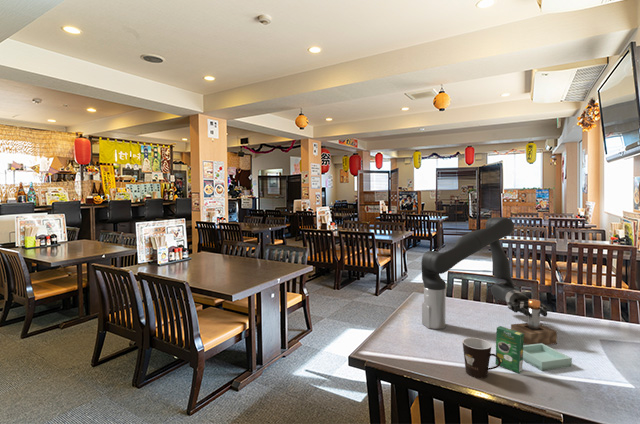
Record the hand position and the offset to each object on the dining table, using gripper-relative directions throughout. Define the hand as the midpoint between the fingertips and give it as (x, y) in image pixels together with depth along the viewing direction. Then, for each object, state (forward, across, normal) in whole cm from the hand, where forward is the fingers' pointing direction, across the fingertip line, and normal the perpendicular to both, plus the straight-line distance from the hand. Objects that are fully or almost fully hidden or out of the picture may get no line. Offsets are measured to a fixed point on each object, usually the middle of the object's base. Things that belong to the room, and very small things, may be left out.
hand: (536, 313), depth 133 cm
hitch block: (-2, 0, +12) cm, 12 cm away
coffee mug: (+29, -30, +12) cm, 43 cm away
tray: (+15, -5, +12) cm, 20 cm away
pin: (-2, 0, +12) cm, 12 cm away
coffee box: (+22, -19, +12) cm, 31 cm away
